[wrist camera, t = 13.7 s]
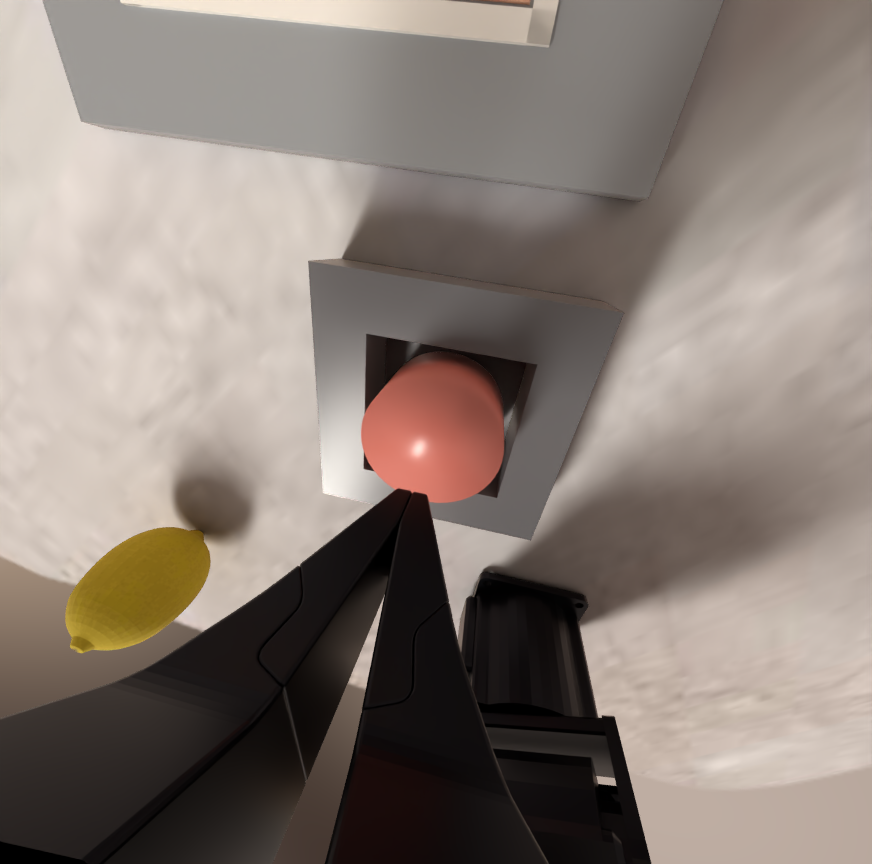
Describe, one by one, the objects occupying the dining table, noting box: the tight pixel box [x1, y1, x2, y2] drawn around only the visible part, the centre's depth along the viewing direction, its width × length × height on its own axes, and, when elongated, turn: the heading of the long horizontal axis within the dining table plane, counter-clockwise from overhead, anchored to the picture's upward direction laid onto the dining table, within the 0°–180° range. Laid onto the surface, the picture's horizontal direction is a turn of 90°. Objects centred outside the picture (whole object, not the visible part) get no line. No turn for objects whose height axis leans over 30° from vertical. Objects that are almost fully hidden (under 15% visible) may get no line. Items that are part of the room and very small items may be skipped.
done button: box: [361, 351, 504, 503], centre depth 12 cm, size 5×5×3 cm
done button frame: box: [308, 259, 624, 540], centre depth 14 cm, size 10×10×2 cm
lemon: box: [65, 527, 210, 653], centre depth 20 cm, size 6×6×8 cm
